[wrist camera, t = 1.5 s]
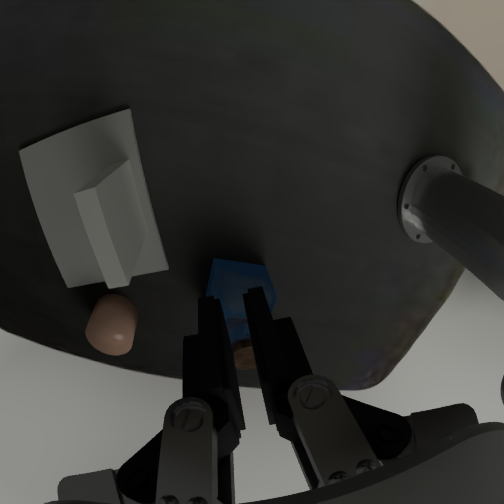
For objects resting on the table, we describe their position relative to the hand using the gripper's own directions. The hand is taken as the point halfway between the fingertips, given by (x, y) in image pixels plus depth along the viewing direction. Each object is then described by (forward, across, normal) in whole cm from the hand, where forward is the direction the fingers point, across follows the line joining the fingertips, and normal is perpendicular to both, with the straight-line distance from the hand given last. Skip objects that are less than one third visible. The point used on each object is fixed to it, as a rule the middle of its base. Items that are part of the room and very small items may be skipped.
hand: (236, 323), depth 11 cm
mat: (+21, +14, 0) cm, 25 cm away
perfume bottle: (+21, 0, +13) cm, 25 cm away
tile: (+21, +9, 0) cm, 22 cm away
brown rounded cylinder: (+21, +16, +14) cm, 30 cm away
